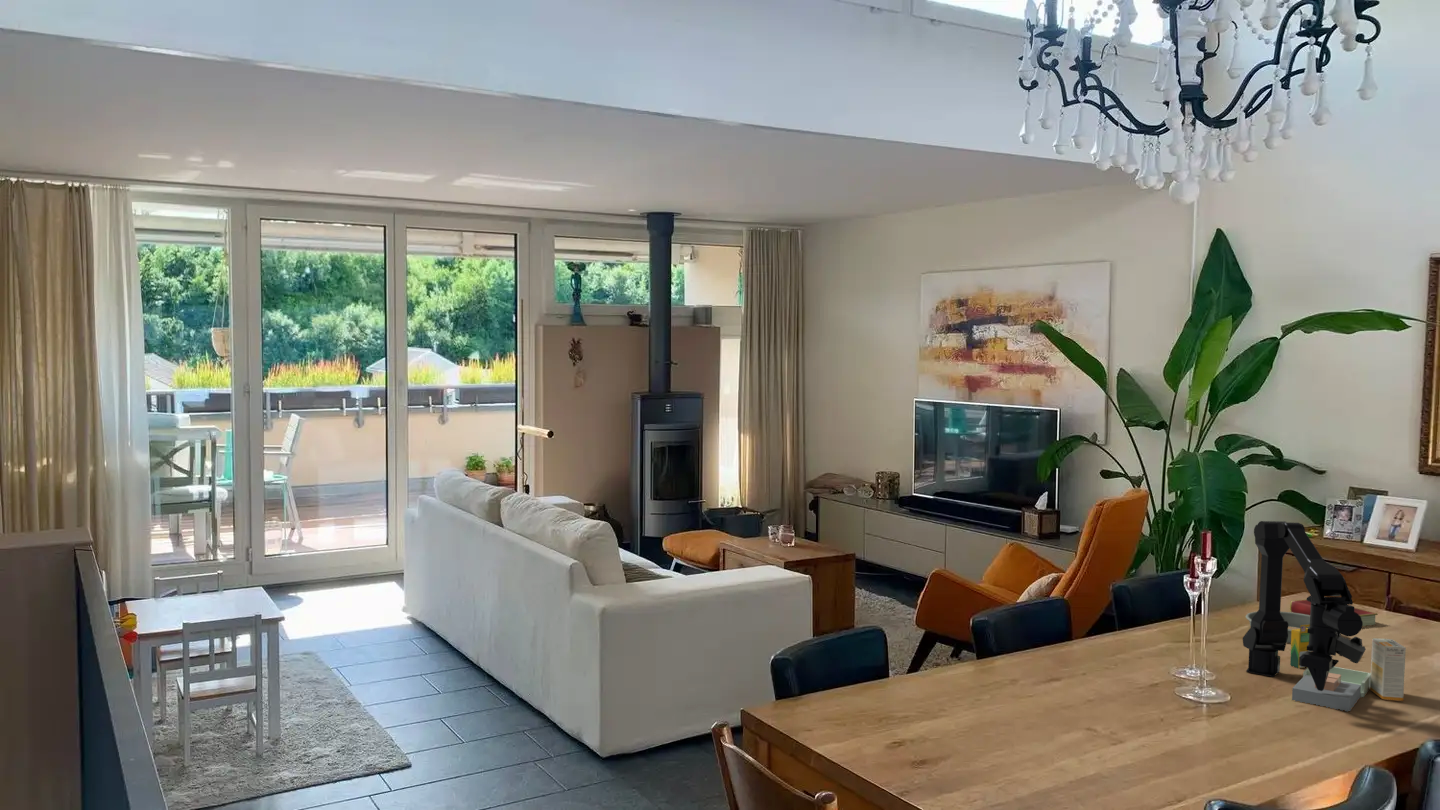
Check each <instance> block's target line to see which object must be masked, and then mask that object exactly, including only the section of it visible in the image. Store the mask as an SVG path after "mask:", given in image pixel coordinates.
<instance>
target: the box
mask: <svg viewBox="0 0 1440 810" xmlns="http://www.w3.org/2000/svg"><path fill="white" fill-rule="evenodd" d="M1329 673H1334V674H1339V675H1341V681H1342V682H1347V683H1353V684H1358V685H1361V693H1360V698H1362V697H1363V698H1364V697H1365V696H1366V695H1365V694H1367V693H1368V692H1369V691H1370V678H1371V672H1367V671H1361V670H1357V669H1356V670H1354V669H1350V668H1343V667H1339V666H1334V667H1333V668H1332V669H1330V671H1329ZM1305 675H1309V676H1311V673H1310V671H1309V669H1308V667H1306V668H1305V670H1304V671H1303V673H1302V678H1303V677H1304V676H1305ZM1368 690H1369V691H1368Z"/></svg>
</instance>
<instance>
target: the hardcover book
mask: <svg viewBox="0 0 1440 810" xmlns="http://www.w3.org/2000/svg"><path fill="white" fill-rule="evenodd" d="M1310 610H1311V602H1309V601H1307V598H1306V599H1298V600H1297V599H1296V600H1291V601H1290V604H1289V612H1292V613H1299V614H1305V615H1310ZM1354 612H1356V613H1357V614H1358V615H1359V616H1360V617H1361V619H1362V622H1363V625H1362V627H1365V626H1366V625H1367V626H1374V625H1376V616H1378V614H1379V613H1377V612H1372V611H1369V610H1366V609H1362V608H1357V607H1354ZM1367 626H1366V627H1367Z"/></svg>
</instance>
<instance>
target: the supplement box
mask: <svg viewBox="0 0 1440 810" xmlns="http://www.w3.org/2000/svg"><path fill="white" fill-rule="evenodd" d="M1406 651H1407V649H1406V647H1405V646H1404V645H1402V644H1400V643H1399V642H1397V641H1396V640H1394V639H1390V638H1372V640H1371V658H1370V659H1371V661H1370V673H1371V678H1370V689H1369V691H1371V692H1373V693H1374V694H1375V695H1376V696H1378V697H1379V698H1380V699H1382V700H1385V701H1398V702H1404V695H1405V694H1404V691H1405V671H1406V653H1407V652H1406Z"/></svg>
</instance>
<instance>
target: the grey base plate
mask: <svg viewBox="0 0 1440 810" xmlns="http://www.w3.org/2000/svg"><path fill="white" fill-rule="evenodd" d="M1291 691H1292V693H1291V701H1292V700H1295V701H1294V702H1297V701H1300V702H1299V703H1302V702H1305V703H1304V704H1307V703H1310V704H1309V705H1313V704H1316V705H1315V706H1318V705H1320V706H1319V707H1323V706H1326V707H1325V708H1328V707H1330V708H1329V709H1333V708H1334V709H1333V710H1338V709H1340V710H1339V711H1343V710H1345V711H1344V712H1348V711H1350V712H1351V710H1352V709H1353V708H1352V707H1355V705H1356V704H1355V703H1357V702H1358V701H1359V700H1358V699H1360V698H1361V697H1360V693H1361V685H1358V684H1353V683H1347V682H1342V681H1341V683H1340V685H1339V686H1338V687H1337V688H1336V689H1335V690H1334V691H1330V690H1325V689H1324V690H1323V691H1319V690H1317V688H1315V683H1314V680H1313V678H1312V676H1309V675H1305V676H1304V677H1303V676H1302V678H1301V679H1300V680H1299V681H1297V683H1296V684H1295V685H1294V686H1293V687H1292V688H1291ZM1357 700H1358V701H1357ZM1354 704H1355V705H1354ZM1351 708H1352V709H1351Z"/></svg>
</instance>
